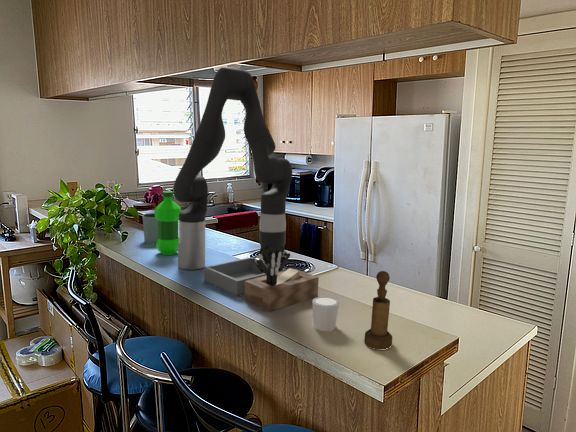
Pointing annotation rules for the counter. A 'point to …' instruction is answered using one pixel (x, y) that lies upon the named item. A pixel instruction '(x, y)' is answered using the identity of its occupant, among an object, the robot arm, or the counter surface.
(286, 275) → the maple bar
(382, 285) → the brown wooden tall figure
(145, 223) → the drinking glass
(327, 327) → the white cup
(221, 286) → the charcoal tray
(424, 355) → the counter surface
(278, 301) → the walnut pocket board
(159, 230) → the plastic bottle
